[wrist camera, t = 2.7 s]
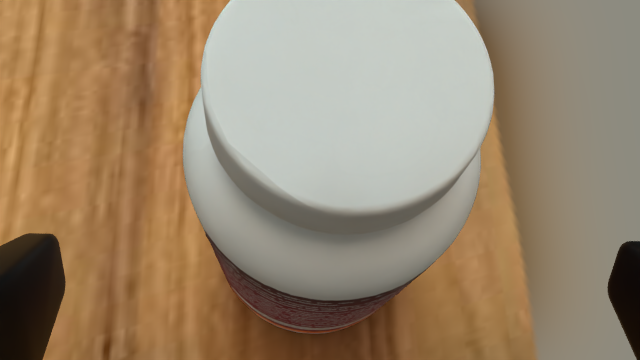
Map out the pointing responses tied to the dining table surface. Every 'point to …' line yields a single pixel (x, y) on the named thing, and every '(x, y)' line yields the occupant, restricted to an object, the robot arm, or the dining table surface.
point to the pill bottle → (335, 150)
